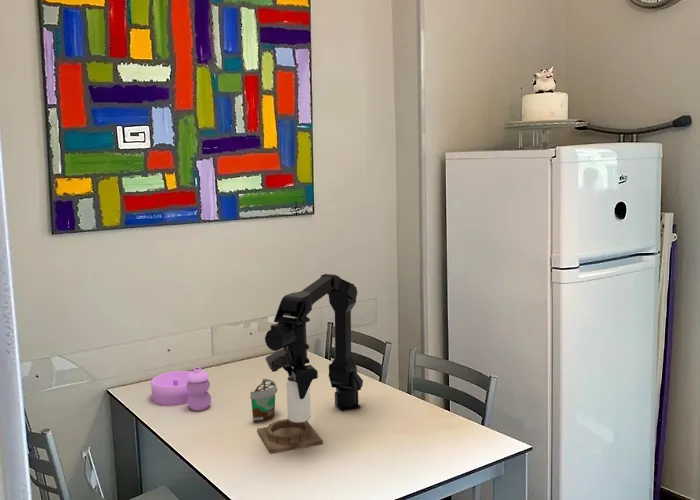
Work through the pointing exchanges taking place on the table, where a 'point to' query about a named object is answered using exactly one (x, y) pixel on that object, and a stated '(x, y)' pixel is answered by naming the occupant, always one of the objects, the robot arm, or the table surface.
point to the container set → (182, 389)
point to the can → (297, 403)
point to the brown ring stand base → (288, 436)
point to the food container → (263, 401)
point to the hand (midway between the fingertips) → (298, 394)
